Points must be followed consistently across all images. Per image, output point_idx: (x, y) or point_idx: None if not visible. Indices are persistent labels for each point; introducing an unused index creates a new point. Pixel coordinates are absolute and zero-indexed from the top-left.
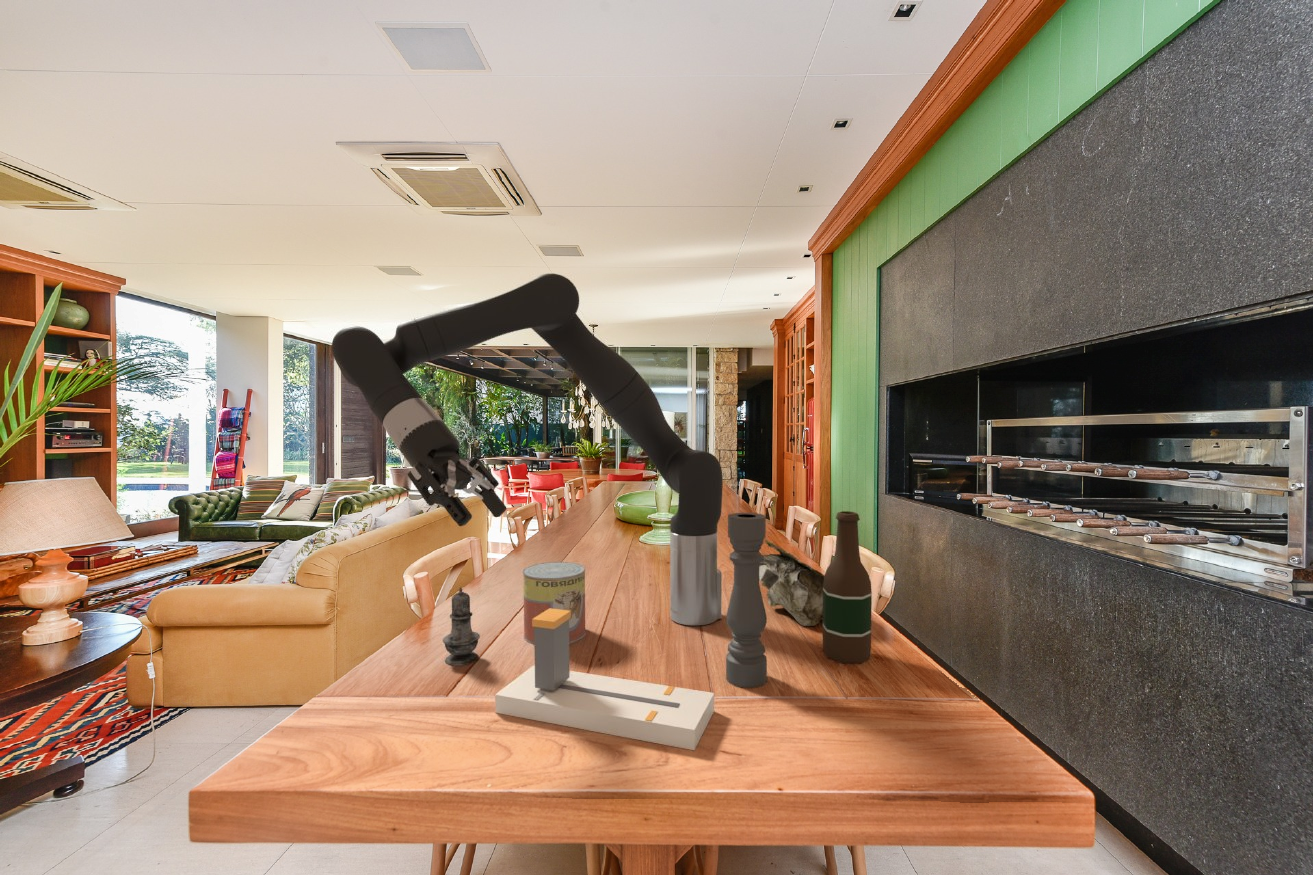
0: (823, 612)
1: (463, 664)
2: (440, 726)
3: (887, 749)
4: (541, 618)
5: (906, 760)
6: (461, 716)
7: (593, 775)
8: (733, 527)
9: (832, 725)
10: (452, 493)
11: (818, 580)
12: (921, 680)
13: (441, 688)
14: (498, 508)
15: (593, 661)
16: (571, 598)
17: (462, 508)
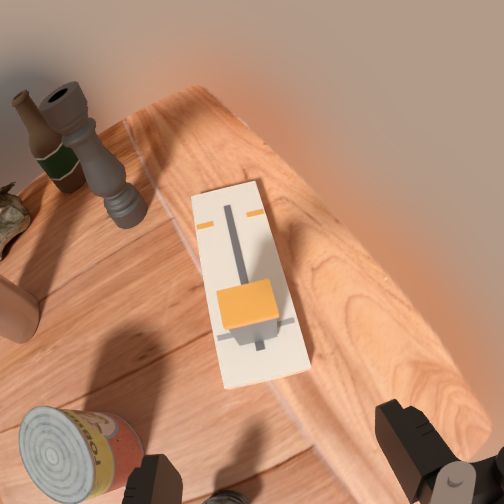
0: (56, 171)
1: (241, 494)
2: (360, 392)
3: (195, 124)
4: (268, 304)
5: (202, 117)
6: (335, 393)
7: (327, 226)
8: (75, 102)
9: (180, 147)
10: (456, 469)
11: (2, 197)
12: (105, 139)
13: (303, 466)
14: (167, 477)
15: (149, 361)
16: (84, 415)
17: (412, 426)
